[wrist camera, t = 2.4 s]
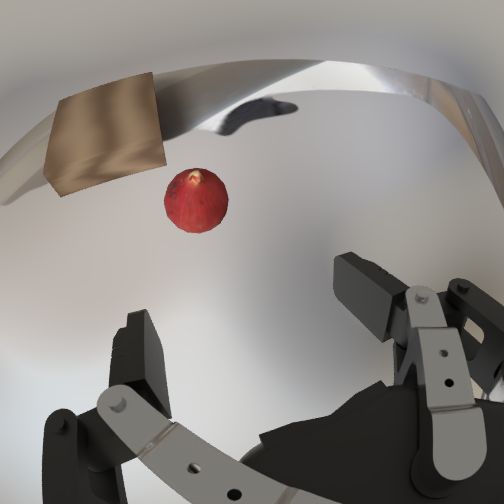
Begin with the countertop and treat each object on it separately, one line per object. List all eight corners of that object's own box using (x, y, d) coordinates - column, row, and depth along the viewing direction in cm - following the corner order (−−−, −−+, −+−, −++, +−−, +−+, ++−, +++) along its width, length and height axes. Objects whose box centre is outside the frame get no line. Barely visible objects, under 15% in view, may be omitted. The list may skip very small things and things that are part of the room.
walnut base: (60, 197, 27) (42, 174, 22) (69, 124, 31) (59, 100, 26) (166, 165, 30) (161, 135, 25) (155, 97, 34) (152, 71, 29)
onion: (165, 242, 27) (149, 200, 19) (175, 193, 29) (166, 143, 21) (223, 248, 27) (226, 208, 20) (229, 198, 29) (234, 149, 22)
